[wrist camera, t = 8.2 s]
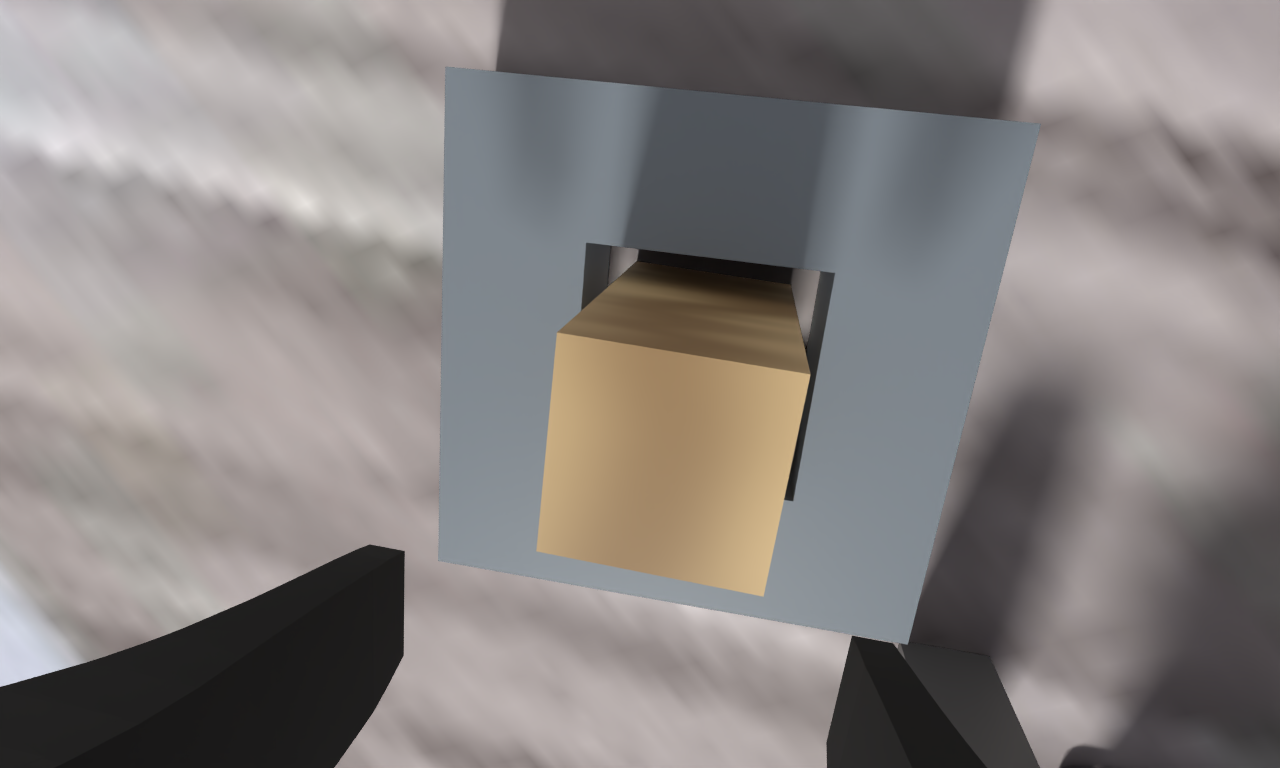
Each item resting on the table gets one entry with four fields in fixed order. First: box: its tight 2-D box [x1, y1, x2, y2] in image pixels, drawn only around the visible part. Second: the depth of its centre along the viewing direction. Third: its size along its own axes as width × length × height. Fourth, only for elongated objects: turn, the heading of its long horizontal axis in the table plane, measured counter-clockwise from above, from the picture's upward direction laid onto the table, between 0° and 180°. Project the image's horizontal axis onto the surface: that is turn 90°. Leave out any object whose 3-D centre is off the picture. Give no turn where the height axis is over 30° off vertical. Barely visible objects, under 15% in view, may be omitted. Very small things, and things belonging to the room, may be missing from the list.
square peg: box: [536, 261, 811, 597], centre depth 16 cm, size 4×4×8 cm
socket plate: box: [438, 67, 1041, 645], centre depth 18 cm, size 12×12×3 cm
